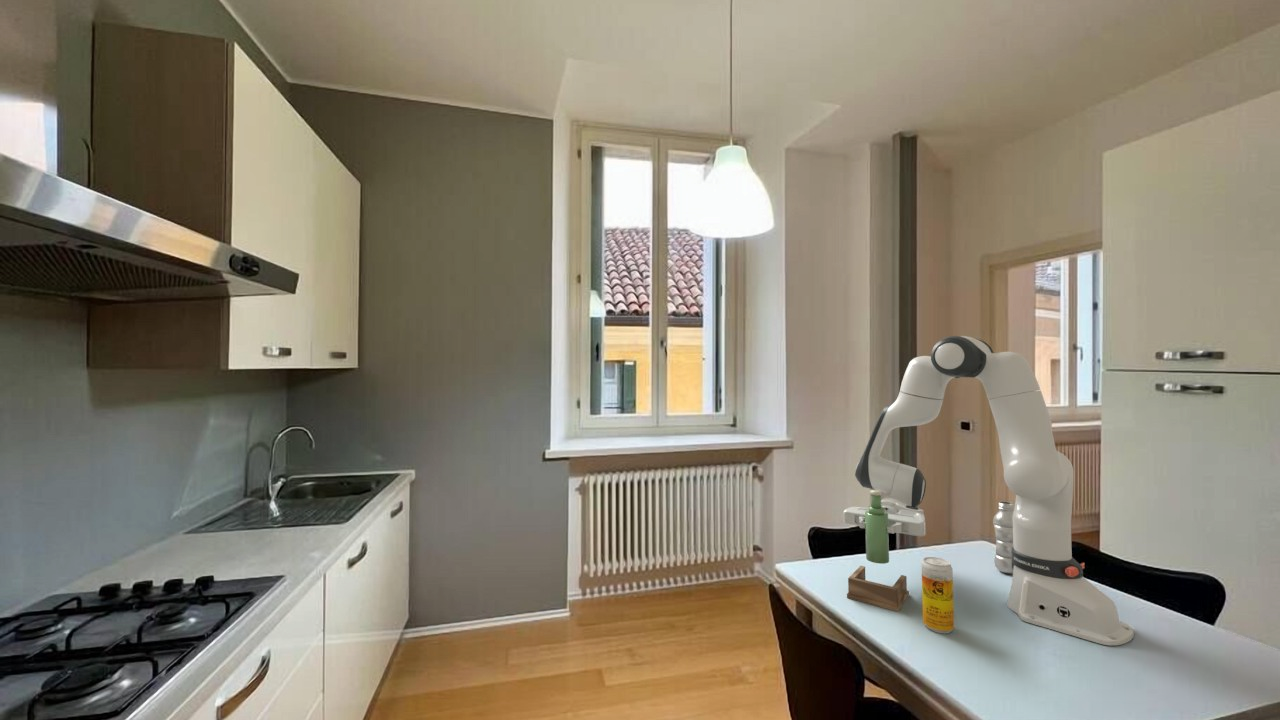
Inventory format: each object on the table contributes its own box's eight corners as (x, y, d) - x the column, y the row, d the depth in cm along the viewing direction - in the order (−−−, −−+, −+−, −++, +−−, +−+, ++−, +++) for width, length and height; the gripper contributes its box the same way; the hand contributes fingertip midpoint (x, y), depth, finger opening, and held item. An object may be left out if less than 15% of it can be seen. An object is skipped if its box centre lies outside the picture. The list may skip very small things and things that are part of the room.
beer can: (925, 631, 111) (924, 564, 112) (920, 619, 117) (919, 555, 118) (957, 636, 109) (955, 567, 110) (950, 623, 115) (948, 558, 116)
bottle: (893, 560, 129) (891, 491, 129) (880, 565, 126) (878, 494, 127) (874, 554, 134) (872, 487, 134) (861, 558, 131) (860, 490, 131)
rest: (860, 582, 138) (860, 564, 138) (908, 594, 130) (908, 575, 130) (847, 597, 129) (846, 578, 129) (897, 611, 121) (897, 590, 121)
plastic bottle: (1028, 577, 141) (1026, 506, 141) (1004, 577, 141) (1002, 506, 141) (1012, 568, 147) (1010, 500, 148) (989, 568, 147) (987, 500, 148)
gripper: (850, 498, 147) (835, 508, 136) (929, 510, 134) (919, 522, 123) (851, 520, 147) (835, 532, 136) (930, 534, 134) (919, 548, 123)
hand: (875, 527), depth 129 cm, fingers closed on bottle, 5 cm apart
